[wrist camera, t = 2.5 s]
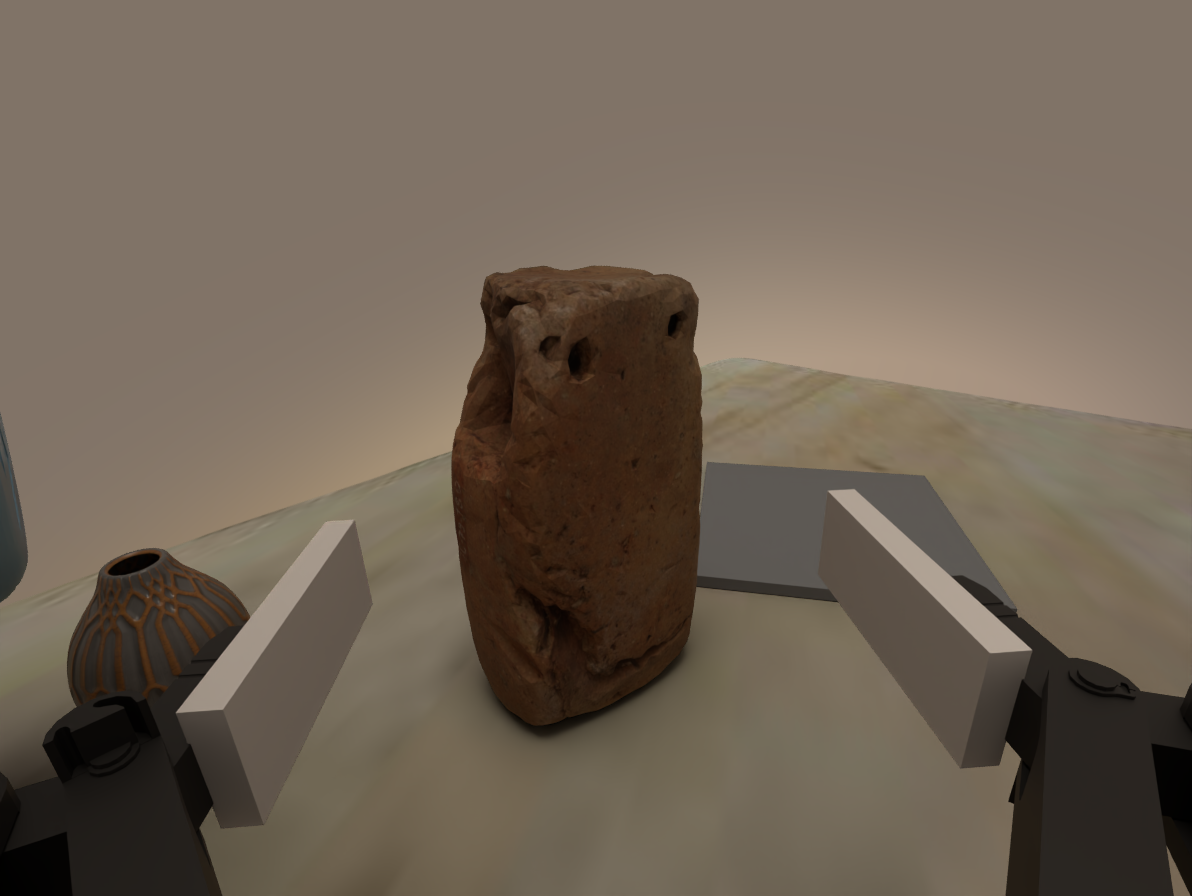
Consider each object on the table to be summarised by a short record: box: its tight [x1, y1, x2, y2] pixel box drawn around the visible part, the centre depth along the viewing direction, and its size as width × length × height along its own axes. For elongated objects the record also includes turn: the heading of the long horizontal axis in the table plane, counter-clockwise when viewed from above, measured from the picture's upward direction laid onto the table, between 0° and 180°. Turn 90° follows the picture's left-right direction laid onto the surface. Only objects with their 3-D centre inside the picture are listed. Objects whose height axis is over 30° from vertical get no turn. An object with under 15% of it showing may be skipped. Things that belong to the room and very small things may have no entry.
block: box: [452, 266, 703, 726], centre depth 27 cm, size 11×8×20 cm
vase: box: [67, 548, 251, 709], centre depth 27 cm, size 7×7×9 cm
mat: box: [696, 462, 1017, 613], centre depth 43 cm, size 18×18×1 cm
